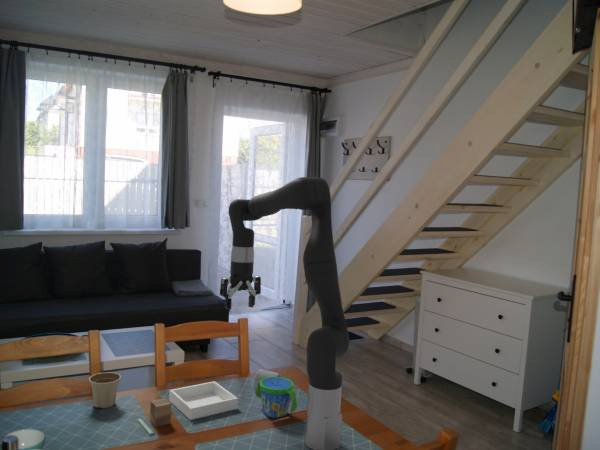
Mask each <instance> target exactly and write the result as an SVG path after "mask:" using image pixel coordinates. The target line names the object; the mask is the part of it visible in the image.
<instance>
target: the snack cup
mask: <svg viewBox="0 0 600 450" xmlns="http://www.w3.org/2000/svg"><path fill="white" fill-rule="evenodd" d="M294 386H295V384H294V382H293V381H292V380H291V379H289V378H285V377H282V376H281V377H268V378H264V379H263V380H261V381H259V383H258V385H257V389H256V392H255V396H256V397H257V398H260V397H261V405H262V414H263V415H264V416H265V417H268V418H269V417H270V418H272V419H273V418H274V419H275V418H276V419H277V418H278V419H279V418H284V417H285V416H286V415H287V414H288V412H289V406H290V401H291V402H292V403H291V407H290V413H293V412H295V411H296V410H297V407H298V403H297V401H298V400H297V395H296V393H295V390H294V388H295V387H294Z"/></svg>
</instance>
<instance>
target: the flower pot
mask: <svg viewBox="0 0 600 450" xmlns="http://www.w3.org/2000/svg"><path fill="white" fill-rule="evenodd" d="M121 379H122V375H121V374H119V373H116V372H110V371H109V372H108V371H107V372H99V373H96V374H92V375H91V376H89V378H88V382H89V383H90V386H91V392H92V401H93V406H94V408H97V409H99V408H101V409H107V408H111V407H113V405H115V404H116V399H117V393H118V387H119V383H120V380H121Z"/></svg>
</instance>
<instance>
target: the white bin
mask: <svg viewBox="0 0 600 450" xmlns="http://www.w3.org/2000/svg"><path fill="white" fill-rule="evenodd" d="M168 393H169V396H168V397H169V398H168V401H169V402H170V403H171V405H172V404H173V406H174V407H176V409H178V411H180V412H181V413H182V414H183V415H184V416H185V417H186V418H187V419H188V420H189V421H191V420H192V421H193V420H196V419H201V418H205V417H210V416H215V415H218V414H222V413H225V412H229V411H235V410H238V401H239V399H238V398H239V397H237V396H236V395H235V394H233V393H231V391H228V390H227V389H226V388H224V387H223V386H221V384H219V383H218V382H217V381H215V380H214V381H209V382H204V383H198V384H194V385H188V386H183V387H178V388H173V389H169V392H168Z"/></svg>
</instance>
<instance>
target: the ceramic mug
mask: <svg viewBox="0 0 600 450" xmlns="http://www.w3.org/2000/svg"><path fill="white" fill-rule="evenodd" d="M268 377H282V375H281V374H280V373H278V372H275V371H269V370H266V369H262V368H259V369H258V370H257V371H256V373H255V376H254V381H253V391H254V392H255V393H256V389H257V385H258V383H259V381H261V380H263V379H264V378H268Z"/></svg>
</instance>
